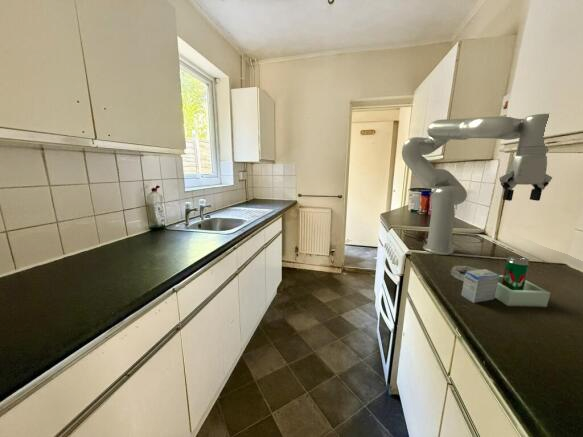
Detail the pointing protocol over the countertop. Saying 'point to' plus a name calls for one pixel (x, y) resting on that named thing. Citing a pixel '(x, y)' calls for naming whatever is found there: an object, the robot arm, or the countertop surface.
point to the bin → (522, 295)
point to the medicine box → (480, 285)
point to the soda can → (515, 273)
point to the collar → (457, 269)
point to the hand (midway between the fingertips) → (520, 200)
